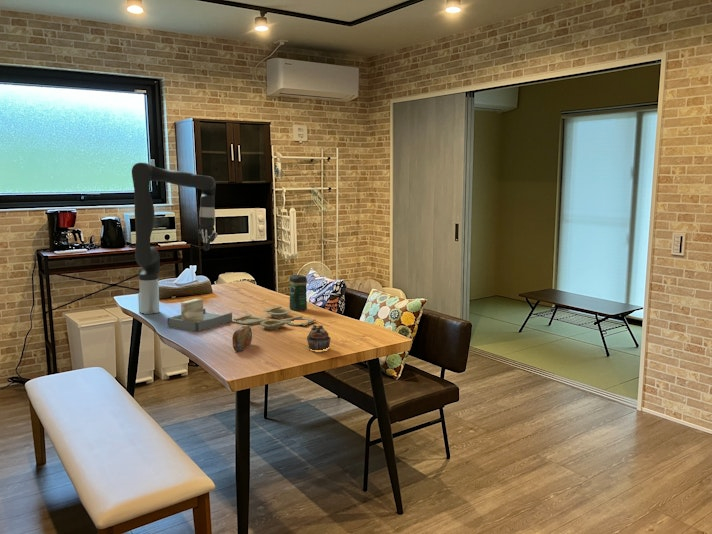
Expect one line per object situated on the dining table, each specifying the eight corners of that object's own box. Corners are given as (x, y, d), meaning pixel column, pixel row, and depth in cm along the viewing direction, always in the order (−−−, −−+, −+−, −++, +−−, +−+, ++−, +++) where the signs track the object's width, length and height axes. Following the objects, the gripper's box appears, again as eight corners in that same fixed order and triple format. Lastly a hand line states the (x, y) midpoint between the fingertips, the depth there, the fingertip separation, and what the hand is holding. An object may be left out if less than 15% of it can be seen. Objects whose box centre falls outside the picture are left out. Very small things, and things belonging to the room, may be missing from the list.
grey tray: (167, 326, 266) (167, 318, 265) (204, 316, 287) (203, 308, 286) (197, 331, 258) (196, 323, 257) (232, 320, 279) (232, 312, 278)
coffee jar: (309, 310, 304) (309, 275, 302) (296, 312, 300) (296, 276, 297) (299, 306, 312) (299, 273, 309) (287, 308, 307) (287, 274, 305)
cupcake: (332, 352, 230) (332, 328, 229) (308, 353, 228) (308, 329, 227) (328, 346, 240) (328, 322, 238) (305, 347, 238) (305, 323, 236)
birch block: (181, 323, 264) (181, 302, 262) (197, 319, 272) (196, 298, 271) (188, 324, 262) (187, 303, 260) (203, 320, 271) (203, 299, 269)
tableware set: (228, 321, 279) (228, 313, 278) (275, 312, 300) (275, 304, 300) (274, 335, 255) (274, 326, 255) (322, 324, 277) (322, 316, 276)
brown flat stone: (238, 353, 227) (238, 333, 226) (231, 353, 228) (230, 332, 226) (252, 343, 242) (252, 323, 240) (245, 342, 242) (245, 323, 241)
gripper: (191, 215, 289) (191, 249, 292) (212, 217, 283) (211, 252, 286) (202, 214, 296) (201, 248, 298) (222, 216, 290) (221, 250, 292)
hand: (206, 250), depth 292 cm, fingers closed
